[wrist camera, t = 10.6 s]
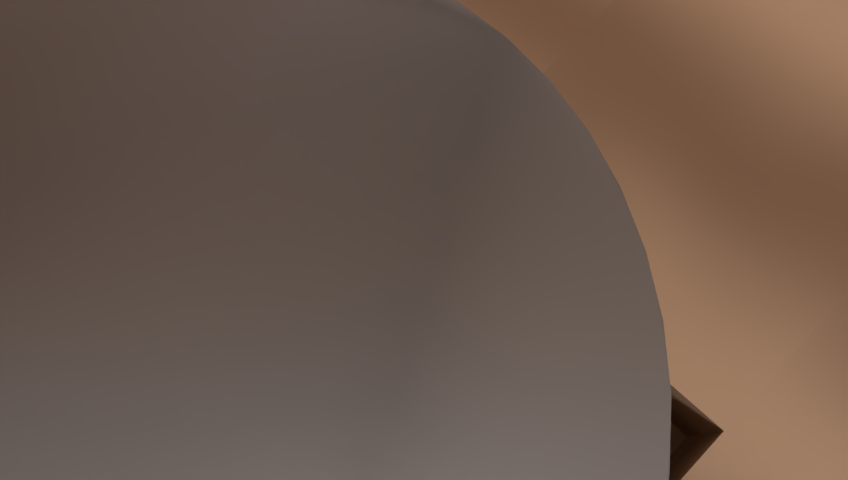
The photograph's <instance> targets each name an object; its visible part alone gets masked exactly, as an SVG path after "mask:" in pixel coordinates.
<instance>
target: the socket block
mask: <svg viewBox="0 0 848 480" xmlns="http://www.w3.org/2000/svg"><path fill="white" fill-rule="evenodd" d="M456 1H458V2H460V3H461V4H462V5H464V6H465V7H466V8H468V9H469V10H470V11H472V12H473V13H474V14H476V15H477V16H478V17H480V18H481V19H482V20H484V21H485V22H487V23H488V24H489V25H491V26H492V27H493V28H495V29H496V30H497V31H499V32H500V33H501V34H503V35H504V36H505V37H507V38H508V39H509V40H510V41H511V42H512V43H513V44H514V45H515V46H516V47H517V48H518V49H519V50H520V51H521V52H522V53H523V54H524V55H525V56H526V57H527V58H528V59H529V60H530V61H531V62H532V63H533V64H534V65H535V66H536V67H537V68H538V69H539V70H540V71H541V72H542V73H543V74H544V75H545V76H546V77H547V78H548V79H549V80H550V81H551V82H552V84H553V85H554V86H555V87H556V89H557V90H558V91H559V93H560V94H561V95H562V97H563V98H564V99H565V100H566V102H567V103H568V104H569V106H570V107H571V108H572V110H573V111H574V112H575V113H576V115H577V116H578V117H579V119H580V120H581V121H582V123H583V124H584V125H585V127H586V128H587V129H588V131H589V132H590V134H591V136H592V138H593V139H594V141H595V143H596V145H597V147H598V148H599V150H600V152H601V154H602V155H603V157H604V159H605V161H606V162H607V164H608V166H609V168H610V169H611V171H612V173H613V175H614V176H615V178H616V180H617V182H618V183H619V185H620V187H621V190H622V192H623V195H624V197H625V200H626V202H627V205H628V207H629V210H630V212H631V215H632V217H633V220H634V222H635V225H636V227H637V230H638V232H639V235H640V237H641V240H642V242H643V245H644V247H645V250H646V253H647V257H648V261H649V265H650V269H651V273H652V277H653V281H654V285H655V289H656V293H657V297H658V301H659V305H660V309H661V313H662V317H663V323H664V332H665V341H666V350H667V359H668V368H669V377H670V386H671V435H670V474H669V480H848V0H456Z"/></svg>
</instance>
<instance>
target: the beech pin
mask: <svg viewBox="0 0 848 480" xmlns="http://www.w3.org/2000/svg"><path fill="white" fill-rule="evenodd" d="M670 435H671V386H670V377H669V368H668V359H667V350H666V341H665V332H664V323H663V317H662V313H661V309H660V305H659V301H658V297H657V293H656V289H655V285H654V281H653V277H652V273H651V269H650V265H649V261H648V257H647V253H646V250H645V247H644V245H643V242H642V240H641V237H640V235H639V232H638V230H637V227H636V225H635V222H634V220H633V217H632V215H631V212H630V210H629V207H628V205H627V202H626V200H625V197H624V195H623V192H622V190H621V187H620V185H619V183H618V182H617V180H616V178H615V176H614V175H613V173H612V171H611V169H610V168H609V166H608V164H607V162H606V161H605V159H604V157H603V155H602V154H601V152H600V150H599V148H598V147H597V145H596V143H595V141H594V139H593V138H592V136H591V134H590V132H589V131H588V129H587V128H586V127H585V125H584V124H583V123H582V121H581V120H580V119H579V117H578V116H577V115H576V113H575V112H574V111H573V110H572V108H571V107H570V106H569V104H568V103H567V102H566V100H565V99H564V98H563V97H562V95H561V94H560V93H559V91H558V90H557V89H556V87H555V86H554V85H553V84H552V82H551V81H550V80H549V79H548V78H547V77H546V76H545V75H544V74H543V73H542V72H541V71H540V70H539V69H538V68H537V67H536V66H535V65H534V64H533V63H532V62H531V61H530V60H529V59H528V58H527V57H526V56H525V55H524V54H523V53H522V52H521V51H520V50H519V49H518V48H517V47H516V46H515V45H514V44H513V43H512V42H511V41H510V40H509V39H508V38H507V37H505V36H504V35H503V34H501V33H500V32H499V31H497V30H496V29H495V28H493V27H492V26H491V25H489V24H488V23H487V22H485V21H484V20H482V19H481V18H480V17H478V16H477V15H476V14H474V13H473V12H472V11H470V10H469V9H468V8H466V7H465V6H464V5H462V4H461V3H460V2H458V1H456V0H0V480H669V474H670Z"/></svg>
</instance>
